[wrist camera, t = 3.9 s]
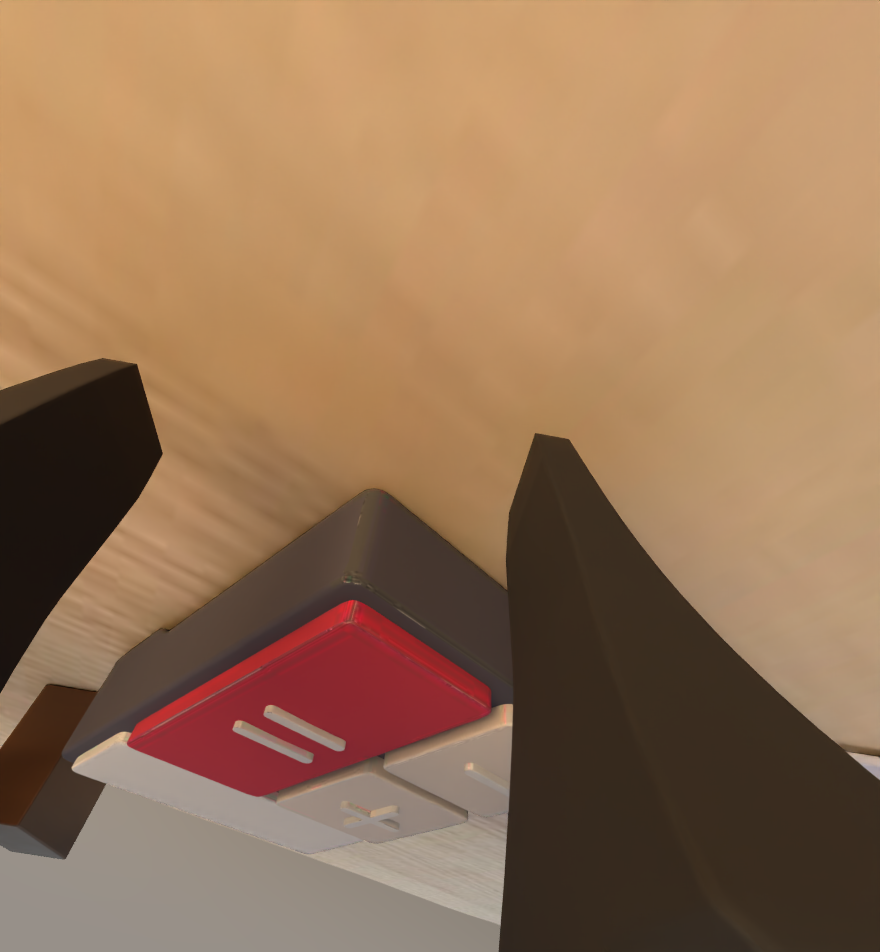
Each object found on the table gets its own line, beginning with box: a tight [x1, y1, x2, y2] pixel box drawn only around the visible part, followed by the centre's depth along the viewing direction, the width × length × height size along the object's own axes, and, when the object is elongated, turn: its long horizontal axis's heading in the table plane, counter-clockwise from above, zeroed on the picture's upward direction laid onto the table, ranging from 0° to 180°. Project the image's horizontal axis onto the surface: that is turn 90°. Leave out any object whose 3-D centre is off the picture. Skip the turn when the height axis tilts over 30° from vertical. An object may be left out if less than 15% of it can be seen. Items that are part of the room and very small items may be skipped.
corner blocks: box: [0, 685, 106, 859], centre depth 22 cm, size 26×5×5 cm, turn 82°
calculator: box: [62, 489, 513, 854], centre depth 17 cm, size 11×4×15 cm
